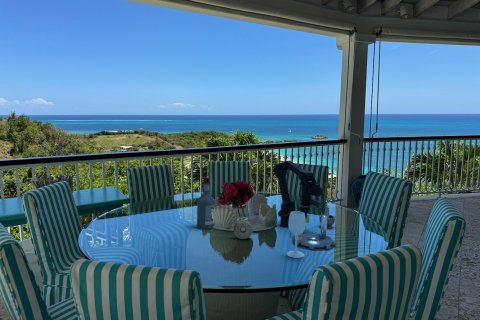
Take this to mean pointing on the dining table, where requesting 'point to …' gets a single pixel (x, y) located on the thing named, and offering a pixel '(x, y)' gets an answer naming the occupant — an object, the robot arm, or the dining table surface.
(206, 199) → the liquor
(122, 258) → the dining table surface
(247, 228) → the stone disc
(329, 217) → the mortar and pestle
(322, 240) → the sprocket
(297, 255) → the wineglass
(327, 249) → the base mat
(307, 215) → the link block
